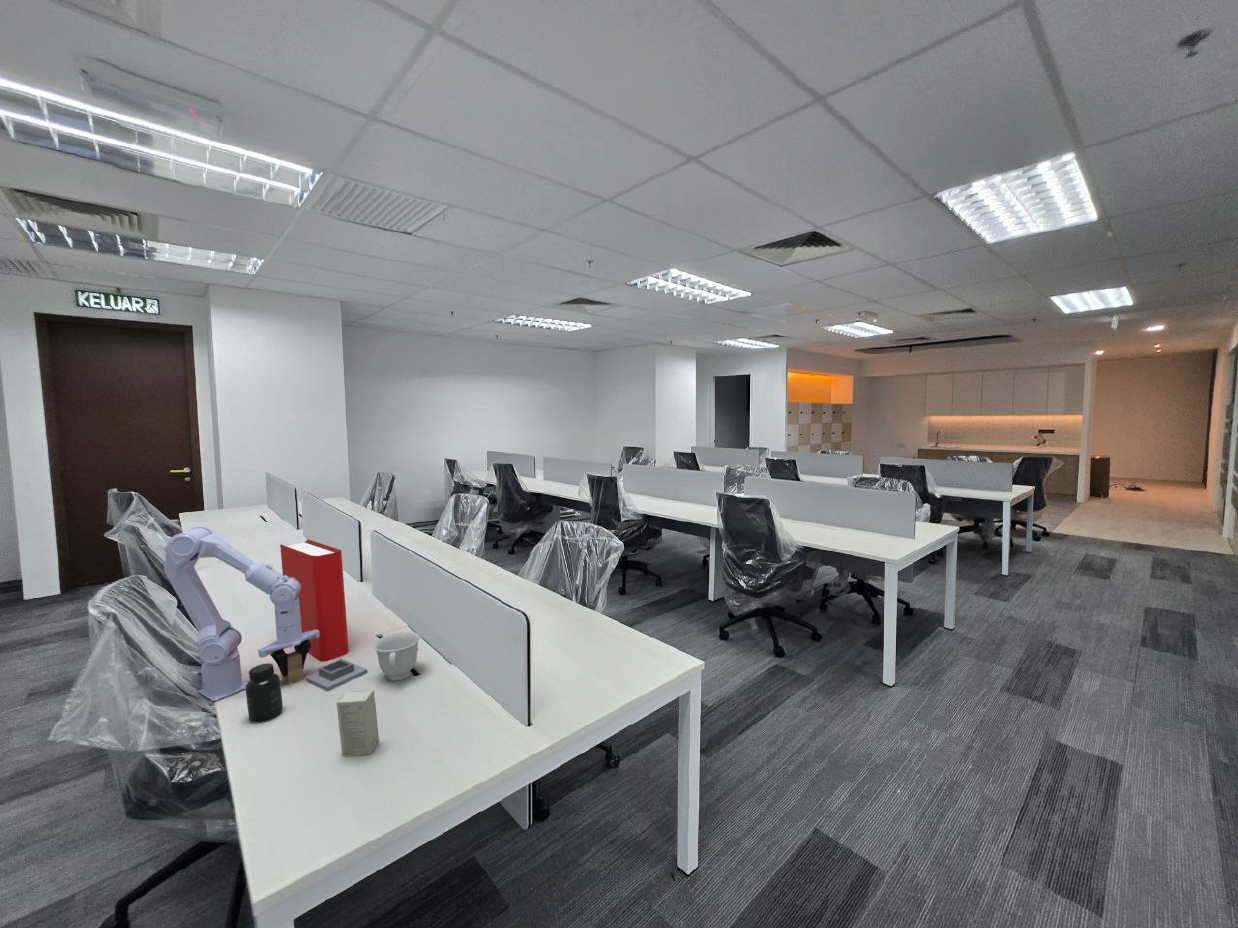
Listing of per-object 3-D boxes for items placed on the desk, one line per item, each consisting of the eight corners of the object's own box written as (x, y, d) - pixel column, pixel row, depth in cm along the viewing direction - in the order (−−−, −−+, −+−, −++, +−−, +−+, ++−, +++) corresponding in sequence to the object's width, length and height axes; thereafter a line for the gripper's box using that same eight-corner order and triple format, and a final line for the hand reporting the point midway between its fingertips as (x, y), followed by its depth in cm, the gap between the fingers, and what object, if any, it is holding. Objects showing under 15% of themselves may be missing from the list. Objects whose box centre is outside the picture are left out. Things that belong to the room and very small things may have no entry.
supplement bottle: (277, 703, 125) (273, 658, 124) (287, 713, 121) (283, 666, 120) (244, 716, 120) (240, 669, 119) (253, 727, 116) (248, 677, 115)
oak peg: (283, 680, 137) (281, 656, 136) (296, 675, 140) (294, 651, 139) (289, 684, 135) (287, 659, 134) (303, 678, 138) (301, 653, 137)
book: (288, 639, 164) (280, 544, 161) (314, 631, 170) (307, 539, 167) (322, 662, 147) (314, 556, 144) (350, 652, 153) (343, 550, 150)
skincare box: (379, 742, 109) (376, 689, 108) (370, 755, 105) (366, 700, 104) (350, 743, 109) (346, 690, 108) (339, 756, 105) (335, 701, 103)
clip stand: (305, 680, 137) (304, 670, 136) (345, 663, 146) (344, 653, 146) (327, 691, 131) (326, 680, 131) (367, 672, 140) (366, 662, 140)
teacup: (368, 695, 128) (366, 658, 127) (379, 668, 142) (377, 634, 142) (418, 688, 131) (416, 651, 130) (424, 662, 146) (422, 629, 145)
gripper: (265, 637, 128) (270, 687, 129) (323, 617, 140) (327, 663, 141) (252, 631, 131) (257, 680, 132) (310, 612, 144) (314, 658, 145)
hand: (292, 671), depth 137 cm, fingers closed on oak peg, 3 cm apart
